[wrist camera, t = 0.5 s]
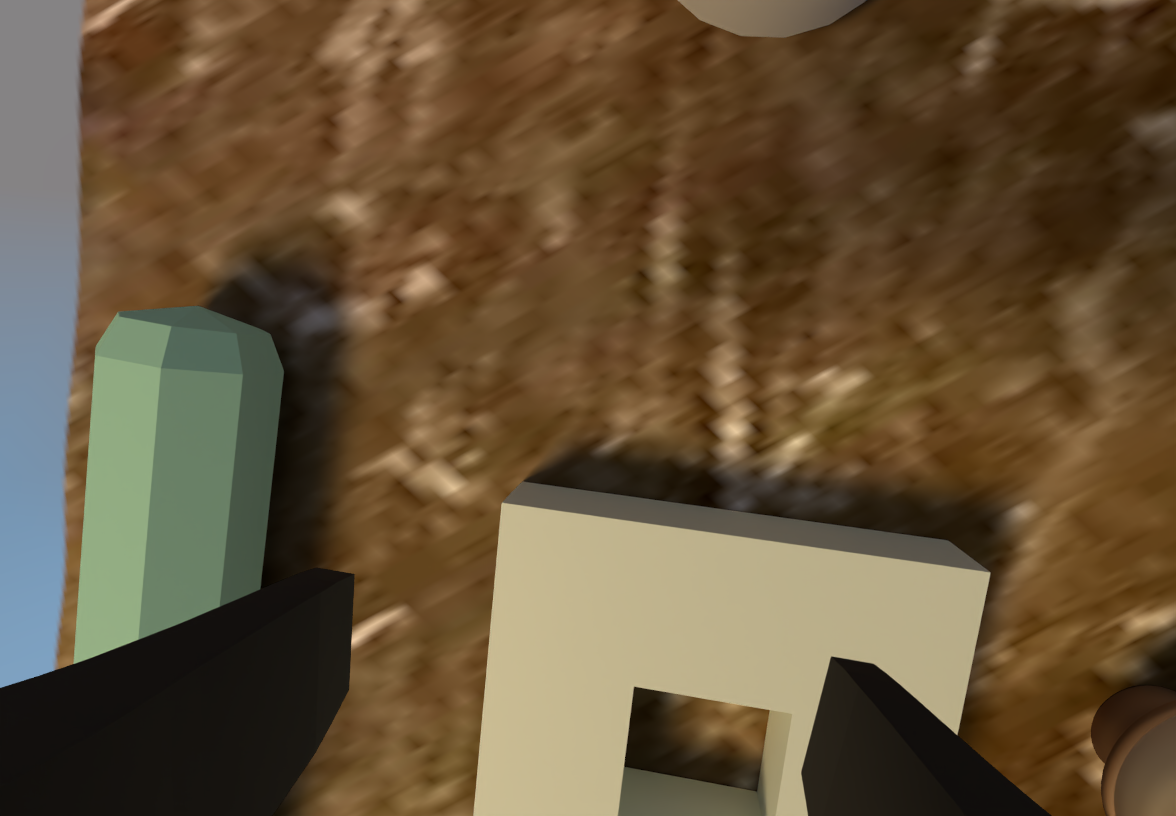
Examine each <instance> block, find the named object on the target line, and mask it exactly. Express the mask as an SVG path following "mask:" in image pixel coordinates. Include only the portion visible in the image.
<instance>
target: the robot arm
mask: <svg viewBox="0 0 1176 816" xmlns="http://www.w3.org/2000/svg"><path fill="white" fill-rule="evenodd" d="M354 575H355V574H351V573H345V572H339V571H333V570H327V569H322V568H314V569H311V570H308V571H304V572H302V573H299V574H296V575H294V576H291V577H289V578H286V579H284V580H281V581H279V582H276V583H274V584H272V585H269V586H267V587H265V588H262V589H260V590H257V591H255V592H253V593H250V594H248V595H246V596H243V597H241V598H239V599H236V600H234V601H232V602H229V603H227V604H225V605H222V606H220V607H218V608H215V609H213V610H210V611H208V612H206V613H203V614H201V615H199V616H196V617H194V618H192V619H189V620H187V621H184V622H182V623H180V624H177V625H175V626H172V627H169V628H167V629H164V630H162V631H159V632H157V633H154V634H151V635H149V636H146V637H144V638H141V639H138V640H136V641H133V642H131V643H128V644H126V645H123V646H120V647H118V648H115V649H113V650H110V651H107V652H105V653H102V654H100V655H97V656H95V657H92V658H89V659H86V660H83V661H81V662H78V663H75V664H72V665H69V666H67V667H64V668H61V669H58V670H55V671H52V672H49V673H46V674H43V675H40V676H37V677H34V678H31V679H27V680H24V681H21V682H18V683H15V684H12V685H9V686H5V687H2V688H0V816H272V815H273V814H274V812H275V811H276V810H277V808H278V807H279V805H280V804H281V802H282V801H283V799H284V798H285V797H286V795H287V794H288V792H289V791H290V789H291V788H292V786H293V785H294V783H295V782H296V781H297V779H298V778H299V776H300V775H301V773H302V772H303V770H304V769H305V767H306V766H307V764H308V763H309V761H310V760H311V759H312V757H313V756H314V754H315V753H316V751H317V749H318V747H319V745H320V743H321V742H322V740H323V738H324V736H325V734H326V733H327V731H328V729H329V727H330V725H331V723H332V721H333V720H334V718H335V716H336V714H337V712H338V710H339V708H340V706H341V704H342V702H343V700H344V698H345V696H346V694H347V692H348V690H349V679H350V658H351V637H352V616H353V596H354ZM801 776H802V782H803V788H804V794H805V800H806V806H807V812H808V816H1051V815H1050V814H1049V813H1047V812H1046V811H1045V810H1044V809H1043V808H1041V807H1040V806H1039V805H1038V804H1037V803H1035V802H1034V801H1033V800H1032V799H1031V798H1029V797H1028V796H1027V795H1026V794H1025V793H1023V792H1022V791H1021V790H1020V789H1019V788H1017V787H1016V786H1015V785H1014V784H1013V783H1012V782H1010V781H1009V780H1008V779H1007V778H1006V777H1005V776H1003V775H1002V774H1001V773H1000V772H999V771H998V770H996V769H995V768H994V767H993V766H992V765H991V764H990V763H988V762H987V761H986V760H985V759H984V758H983V757H981V756H980V755H979V754H978V753H977V752H976V751H975V750H973V749H972V748H971V747H970V746H969V745H968V744H967V743H966V742H964V741H963V740H962V739H961V738H960V737H959V736H958V735H956V734H955V733H954V732H953V731H952V730H951V729H950V728H949V727H947V726H946V725H945V724H944V723H943V722H942V721H941V720H940V719H938V718H937V717H936V716H935V715H934V714H933V713H932V712H931V711H929V710H928V709H927V708H926V707H925V706H924V705H923V704H922V703H920V702H919V701H918V700H917V699H916V698H915V697H914V696H913V695H911V694H910V693H909V692H908V691H907V690H906V689H904V688H903V687H902V686H901V685H900V684H899V683H897V682H896V681H895V680H894V679H893V678H892V677H890V676H889V675H888V674H887V673H885V672H884V671H883V670H881V669H880V668H879V667H878V666H876V665H875V664H873V663H867V662H861V661H856V660H850V659H844V658H838V657H832V656H831V658H830V662H829V666H828V670H827V674H826V678H825V682H824V686H823V689H822V693H821V697H820V701H819V705H818V709H817V713H816V716H815V720H814V724H813V728H812V732H811V736H810V740H809V744H808V747H807V751H806V755H805V759H804V763H803V767H802V771H801Z"/></svg>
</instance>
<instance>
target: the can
mask: <svg viewBox="0 0 1176 816" xmlns="http://www.w3.org/2000/svg"><path fill="white" fill-rule="evenodd" d="M678 1H679V2H680V3H681V4H682V5H683V6H685V7H686V8H687V9H688V10H689V11H690V12H691V13H693V14H694V15H695V16H696V17H697V18H698V19H699V20H701V21H704V22H706V23H709V24H711V25H714V26H716V27H719V28H721V29H724V30H727V31H729V32H732V33H734V34H737V35H739V36H756V37H784V38H785V37H789V36H792V35H795V34H799V33H802V32H806V31H809V30H813V29H816V28H820V27H823V26H826V25H830V24H831V23H833V22H835V21H836V20H838V19H839V18H841V17H842V16H844V15H845V14H847V13H848V12H850V11H851V10H853V9H854V8H856V7H857V6H859V5H860V4H862V3H864V2H865V1H867V0H678Z"/></svg>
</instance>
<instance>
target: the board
mask: <svg viewBox="0 0 1176 816" xmlns="http://www.w3.org/2000/svg"><path fill="white" fill-rule="evenodd" d="M990 573H991V572H989V571H988V570H987V569H985V568H984V567H983V566H981V565H980V564H979V563H977V562H976V561H975V560H973V559H972V558H971V557H969V556H968V555H967V554H965V553H964V552H963V551H961V550H960V549H959V548H957V547H956V546H955V545H953V544H952V543H951V542H949V541H948V540H941V539H934V538H927V537H920V536H912V535H905V534H898V533H891V532H884V531H876V530H869V529H862V528H855V527H847V526H840V525H833V524H826V523H818V522H811V521H804V520H797V519H790V518H782V517H775V516H768V515H761V514H753V513H746V512H739V511H732V510H724V509H717V508H710V507H703V506H696V505H688V504H681V503H674V502H667V501H659V500H652V499H645V498H638V497H631V496H623V495H616V494H609V493H602V492H594V491H587V490H580V489H573V488H565V487H558V486H551V485H544V484H537V483H529V482H521V483H520V484H519V485H518V486H517V487H516V489H515V490H514V491H513V492H512V493H511V494H510V495H509V496H508V497H507V498H506V499H505V500H504V501H503V502H502V506H501V517H500V528H499V539H498V550H497V561H496V572H495V584H494V595H493V606H492V617H491V628H490V639H489V650H488V661H487V672H486V683H485V694H484V705H483V716H482V727H481V738H480V749H479V760H478V771H477V783H476V794H475V805H474V816H808V812H807V806H806V800H805V794H804V788H803V782H802V776H801V771H802V767H803V763H804V759H805V755H806V751H807V747H808V744H809V740H810V736H811V732H812V728H813V724H814V720H815V716H816V713H817V709H818V705H819V701H820V697H821V693H822V689H823V686H824V682H825V678H826V674H827V670H828V666H829V662H830V658H831V656H832V657H838V658H844V659H850V660H856V661H861V662H867V663H873V664H875V665H876V666H878V667H879V668H880V669H881V670H883V671H884V672H885V673H887V674H888V675H889V676H890V677H892V678H893V679H894V680H895V681H896V682H897V683H899V684H900V685H901V686H902V687H903V688H904V689H906V690H907V691H908V692H909V693H910V694H911V695H913V696H914V697H915V698H916V699H917V700H918V701H919V702H920V703H922V704H923V705H924V706H925V707H926V708H927V709H928V710H929V711H931V712H932V713H933V714H934V715H935V716H936V717H937V718H938V719H940V720H941V721H942V722H943V723H944V724H945V725H946V726H947V727H949V728H950V729H951V730H952V731H953V732H954V733H955V734H956V735H958V730H959V725H960V720H961V715H962V710H963V705H964V700H965V696H966V691H967V686H968V681H969V676H970V671H971V666H972V661H973V656H974V652H975V647H976V642H977V637H978V632H979V627H980V622H981V617H982V612H983V608H984V603H985V598H986V593H987V588H988V583H989V578H990ZM634 687H639V688H645V689H651V690H657V691H663V692H668V693H674V694H680V695H686V696H692V697H698V698H703V699H709V700H715V701H721V702H727V703H732V704H738V705H744V706H750V707H756V708H761V709H767V710H770V712H769V719H768V725H767V731H766V738H765V744H764V750H763V756H762V763H761V769H760V775H759V782H758V788H757V791H751V790H746V789H741V788H735V787H730V786H725V785H719V784H714V783H708V782H703V781H698V780H692V779H687V778H682V777H676V776H671V775H666V774H660V773H655V772H650V771H644V770H639V769H634V768H628V767H624V762H625V754H626V746H627V738H628V730H629V722H630V714H631V706H632V698H633V690H634Z"/></svg>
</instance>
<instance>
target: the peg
mask: <svg viewBox="0 0 1176 816" xmlns="http://www.w3.org/2000/svg"><path fill="white" fill-rule="evenodd" d="M1091 738H1092V743H1093V747H1094V749H1095V751H1096V753H1097V755H1098V756H1099V758H1100V759H1101V760H1102V761H1103V762H1104V763H1105V766H1104V769H1103V775H1102V781H1101V795H1102V802H1103V807H1104V810H1105V813H1106V816H1176V692H1175V691H1173V690H1170V689H1167V688H1164V687H1160V686H1151V685H1147V686H1136V687H1132V688H1128V689H1125V690H1122V691H1120V692H1118V693H1116V694H1115V695H1113V696H1112V697H1110V698H1109V699H1108V700H1107V701H1105V702H1104V703H1103V705H1102V706H1101V707H1100V708H1099V710H1098V711H1097V713H1096V715H1095V717H1094V720H1093V723H1092V728H1091Z"/></svg>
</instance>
